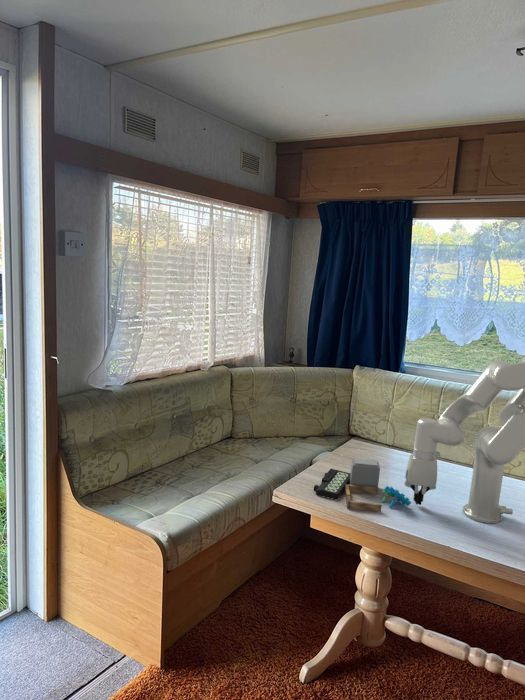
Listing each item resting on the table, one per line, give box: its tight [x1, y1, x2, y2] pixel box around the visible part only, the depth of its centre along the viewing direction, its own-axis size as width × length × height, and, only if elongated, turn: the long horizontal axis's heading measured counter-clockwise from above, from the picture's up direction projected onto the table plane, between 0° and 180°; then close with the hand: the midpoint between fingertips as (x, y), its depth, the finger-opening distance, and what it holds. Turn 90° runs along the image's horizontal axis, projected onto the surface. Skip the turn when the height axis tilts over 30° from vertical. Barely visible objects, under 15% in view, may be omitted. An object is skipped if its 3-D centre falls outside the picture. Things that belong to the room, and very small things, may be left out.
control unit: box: [348, 457, 381, 493], centre depth 195 cm, size 10×7×11 cm
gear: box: [381, 485, 412, 509], centre depth 182 cm, size 11×6×10 cm
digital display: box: [313, 468, 350, 500], centre depth 196 cm, size 21×3×10 cm
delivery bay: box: [344, 484, 382, 513], centre depth 185 cm, size 12×14×3 cm
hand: (417, 502), depth 183 cm, fingers closed
